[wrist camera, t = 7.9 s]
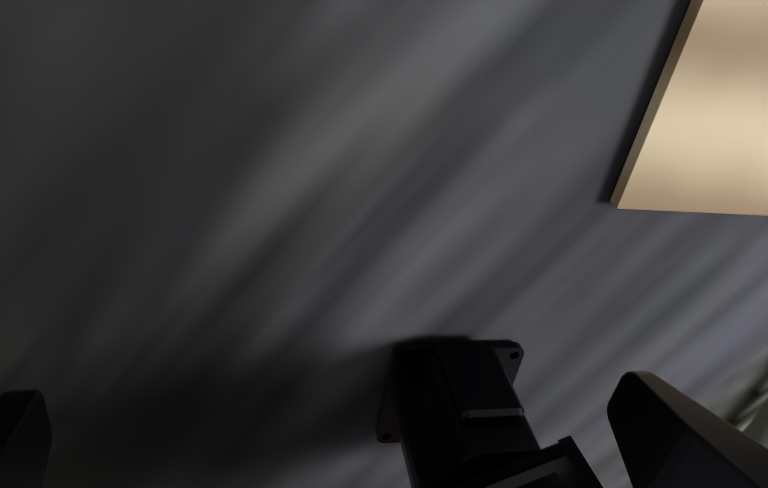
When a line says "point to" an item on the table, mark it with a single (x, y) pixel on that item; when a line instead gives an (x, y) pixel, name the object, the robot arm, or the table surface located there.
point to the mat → (706, 118)
